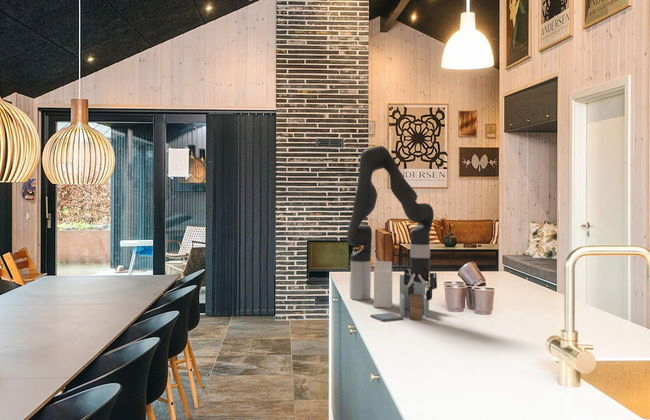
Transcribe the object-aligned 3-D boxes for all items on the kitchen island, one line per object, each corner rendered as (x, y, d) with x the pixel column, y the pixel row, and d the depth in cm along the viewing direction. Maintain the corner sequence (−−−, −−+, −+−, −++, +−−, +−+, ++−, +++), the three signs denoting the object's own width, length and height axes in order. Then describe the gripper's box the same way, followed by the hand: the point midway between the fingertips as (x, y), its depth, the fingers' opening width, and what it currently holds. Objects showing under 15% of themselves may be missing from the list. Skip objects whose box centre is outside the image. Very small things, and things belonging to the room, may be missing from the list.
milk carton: (390, 308, 236) (391, 262, 235) (373, 307, 237) (373, 262, 237) (392, 304, 243) (392, 260, 242) (375, 304, 244) (375, 260, 244)
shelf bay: (399, 308, 235) (399, 274, 235) (424, 308, 234) (425, 275, 234) (401, 316, 219) (401, 280, 219) (428, 317, 218) (428, 280, 218)
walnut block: (409, 317, 218) (409, 294, 218) (421, 317, 217) (421, 294, 217) (410, 319, 213) (410, 296, 213) (422, 320, 213) (422, 296, 213)
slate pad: (370, 316, 218) (370, 314, 218) (390, 314, 222) (390, 312, 222) (382, 321, 210) (382, 319, 210) (403, 319, 214) (403, 317, 214)
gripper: (399, 255, 218) (399, 296, 219) (428, 258, 208) (428, 302, 208) (412, 253, 223) (412, 294, 224) (441, 256, 212) (441, 299, 213)
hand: (419, 298), depth 216 cm, fingers open, 8 cm apart
